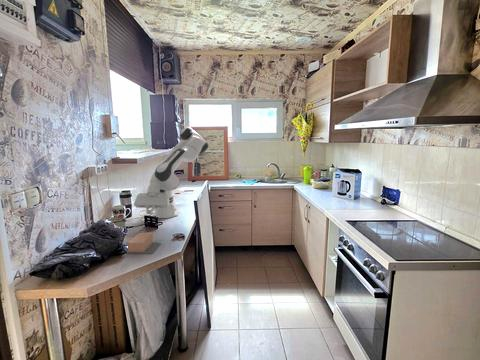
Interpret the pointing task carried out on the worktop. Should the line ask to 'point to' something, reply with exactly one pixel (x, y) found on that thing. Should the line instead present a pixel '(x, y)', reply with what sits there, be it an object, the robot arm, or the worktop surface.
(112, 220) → the food container
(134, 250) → the terracotta block
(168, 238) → the worktop surface
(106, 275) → the worktop surface
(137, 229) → the worktop surface
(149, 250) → the mat
